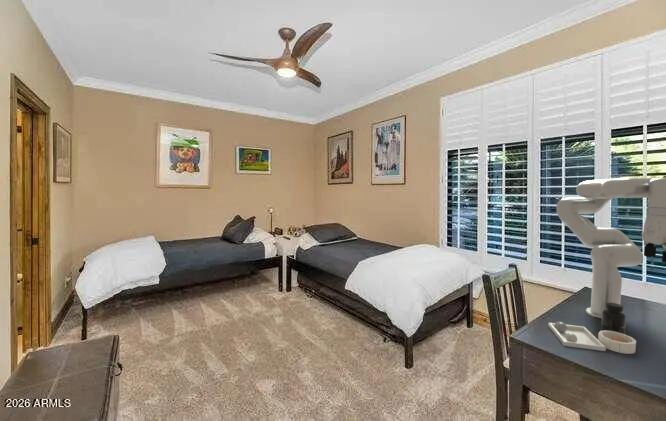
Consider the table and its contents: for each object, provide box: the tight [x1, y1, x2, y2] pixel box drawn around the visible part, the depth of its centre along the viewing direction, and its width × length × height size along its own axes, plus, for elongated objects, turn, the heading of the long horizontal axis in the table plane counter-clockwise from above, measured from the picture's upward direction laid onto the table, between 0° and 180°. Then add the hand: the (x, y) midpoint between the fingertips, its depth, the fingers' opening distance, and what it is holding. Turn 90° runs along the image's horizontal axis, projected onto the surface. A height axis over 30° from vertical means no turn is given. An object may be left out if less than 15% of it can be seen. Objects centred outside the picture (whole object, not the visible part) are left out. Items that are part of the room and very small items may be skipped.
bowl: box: [597, 330, 637, 355], centre depth 108 cm, size 10×10×4 cm
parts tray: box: [548, 322, 607, 352], centre depth 114 cm, size 16×12×2 cm
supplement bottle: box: [600, 302, 627, 335], centre depth 117 cm, size 7×7×12 cm
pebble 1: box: [554, 320, 567, 332], centre depth 119 cm, size 4×4×4 cm
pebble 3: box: [611, 336, 626, 343], centre depth 107 cm, size 4×4×4 cm
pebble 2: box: [565, 333, 577, 342], centre depth 110 cm, size 3×3×3 cm
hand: (658, 259), depth 111 cm, fingers open, 9 cm apart
